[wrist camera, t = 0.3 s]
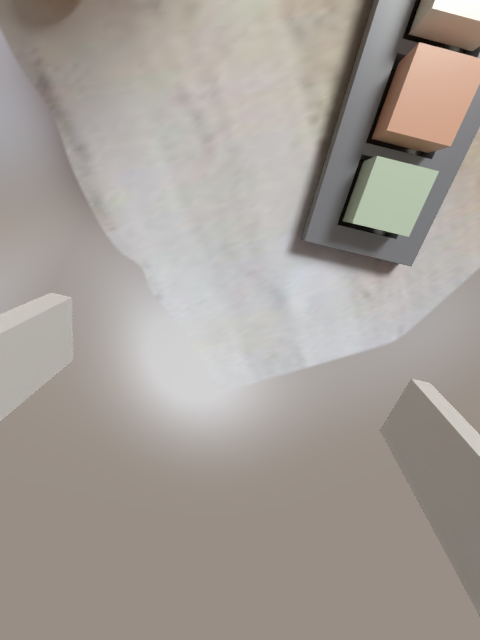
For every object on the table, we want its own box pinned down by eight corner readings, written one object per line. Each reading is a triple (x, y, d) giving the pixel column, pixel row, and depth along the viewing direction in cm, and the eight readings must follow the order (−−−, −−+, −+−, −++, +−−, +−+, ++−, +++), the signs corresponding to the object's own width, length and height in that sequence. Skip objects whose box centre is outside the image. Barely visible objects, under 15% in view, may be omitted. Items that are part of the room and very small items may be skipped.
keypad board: (405, -105, 22) (422, -141, 20) (553, -64, 22) (586, -94, 20) (301, 238, 33) (304, 241, 31) (400, 262, 34) (411, 266, 32)
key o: (363, 161, 28) (377, 155, 25) (418, 174, 28) (439, 171, 25) (342, 220, 30) (352, 223, 27) (393, 233, 30) (408, 236, 27)
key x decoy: (398, 63, 25) (419, 42, 21) (460, 79, 25) (490, 60, 22) (371, 138, 27) (386, 130, 24) (428, 153, 27) (450, 146, 24)
